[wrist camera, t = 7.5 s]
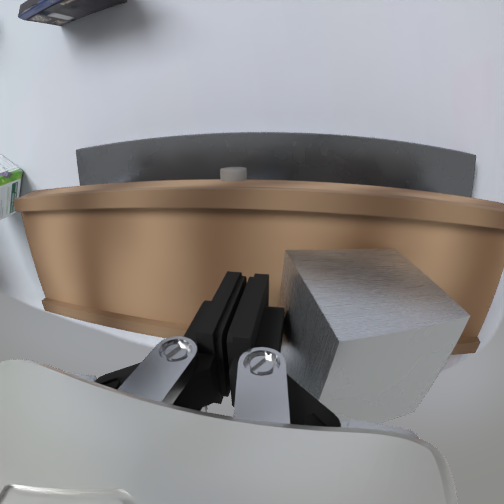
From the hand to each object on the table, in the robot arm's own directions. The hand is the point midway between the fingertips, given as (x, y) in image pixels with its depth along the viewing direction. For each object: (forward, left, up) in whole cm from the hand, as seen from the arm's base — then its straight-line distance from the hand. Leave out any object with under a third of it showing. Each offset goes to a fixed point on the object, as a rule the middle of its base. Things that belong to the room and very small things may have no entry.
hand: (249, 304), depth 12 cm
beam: (+1, 0, -3) cm, 4 cm away
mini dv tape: (+16, -20, -12) cm, 29 cm away
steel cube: (-4, 0, -1) cm, 4 cm away
